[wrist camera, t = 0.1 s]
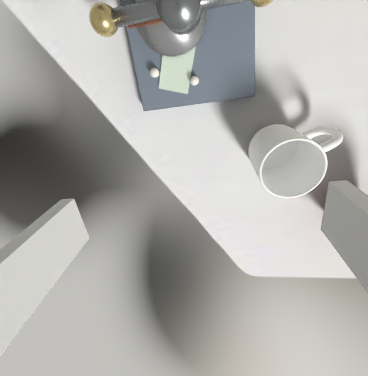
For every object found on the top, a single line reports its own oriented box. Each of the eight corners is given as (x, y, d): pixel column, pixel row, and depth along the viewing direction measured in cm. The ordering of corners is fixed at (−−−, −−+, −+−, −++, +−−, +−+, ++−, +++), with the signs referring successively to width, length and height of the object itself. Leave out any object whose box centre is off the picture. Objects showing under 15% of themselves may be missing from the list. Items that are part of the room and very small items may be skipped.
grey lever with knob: (269, -52, 25) (287, -89, 20) (267, 41, 29) (281, 32, 23) (98, -12, 28) (70, -34, 23) (116, 67, 32) (97, 65, 27)
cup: (238, 140, 37) (248, 159, 28) (310, 99, 34) (348, 106, 24) (260, 178, 40) (274, 207, 31) (328, 144, 36) (368, 166, 27)
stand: (109, -77, 27) (98, -95, 24) (251, -116, 25) (257, -142, 22) (146, 109, 37) (141, 112, 34) (252, 95, 34) (256, 96, 31)
